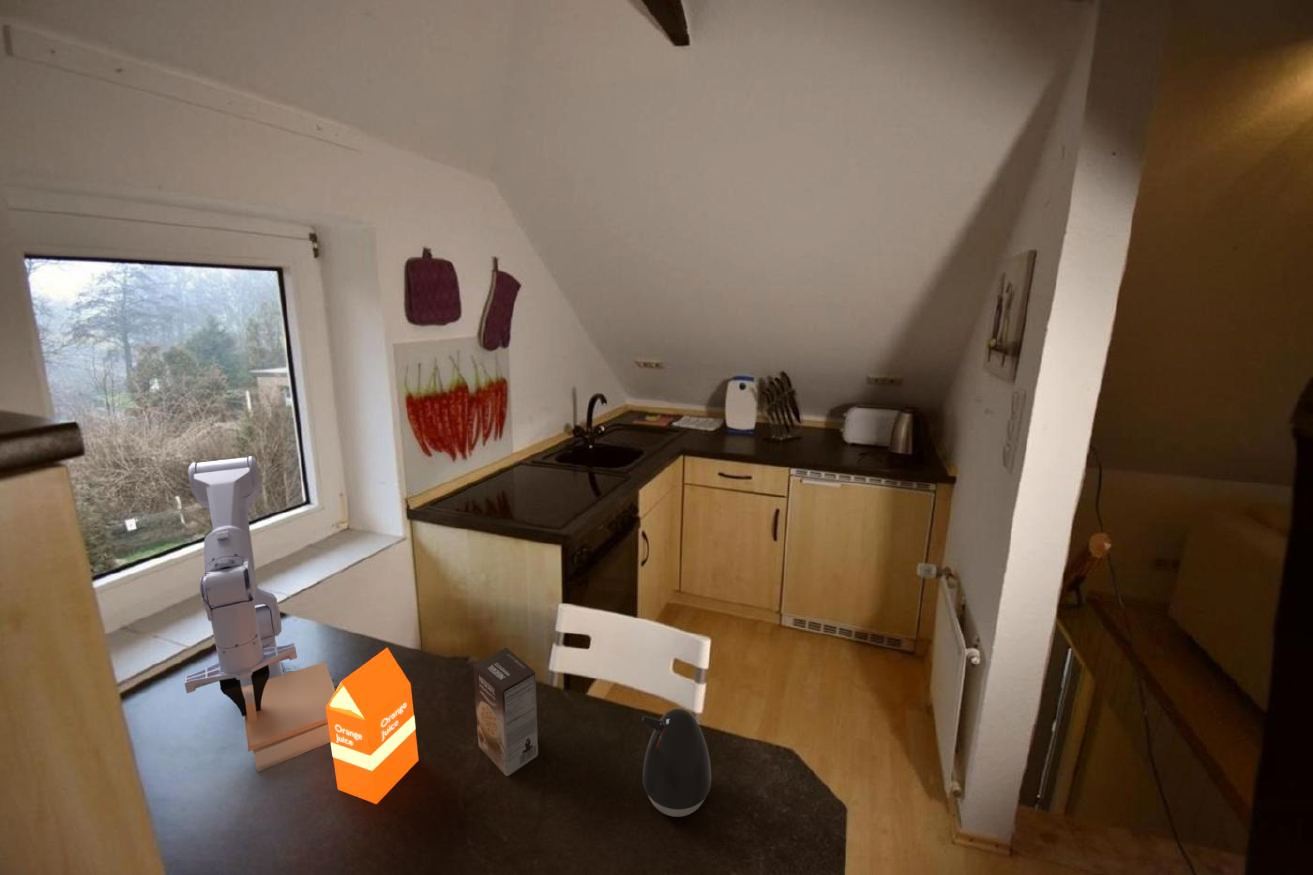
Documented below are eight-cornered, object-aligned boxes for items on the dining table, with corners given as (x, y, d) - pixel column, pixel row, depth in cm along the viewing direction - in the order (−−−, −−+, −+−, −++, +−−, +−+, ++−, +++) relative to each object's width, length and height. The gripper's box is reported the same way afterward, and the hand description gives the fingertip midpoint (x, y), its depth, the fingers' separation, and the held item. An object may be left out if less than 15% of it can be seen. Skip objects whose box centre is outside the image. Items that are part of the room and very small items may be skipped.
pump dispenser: (642, 770, 90) (643, 688, 86) (707, 772, 89) (711, 690, 86) (638, 828, 80) (639, 738, 76) (712, 831, 79) (716, 741, 76)
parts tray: (249, 714, 100) (246, 697, 99) (326, 686, 107) (323, 671, 107) (257, 772, 88) (253, 753, 87) (342, 737, 95) (340, 719, 95)
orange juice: (419, 760, 91) (408, 651, 86) (376, 804, 83) (361, 688, 78) (381, 747, 93) (368, 641, 89) (336, 789, 85) (319, 675, 80)
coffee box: (476, 747, 94) (470, 663, 90) (509, 726, 98) (505, 646, 94) (506, 778, 88) (501, 690, 84) (540, 755, 92) (537, 670, 88)
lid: (242, 694, 99) (238, 670, 98) (325, 667, 107) (323, 645, 106) (248, 754, 86) (245, 727, 85) (343, 719, 94) (341, 694, 93)
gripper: (178, 668, 82) (195, 745, 86) (294, 633, 91) (305, 704, 94) (179, 645, 88) (195, 718, 91) (288, 614, 96) (299, 682, 100)
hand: (251, 710), depth 93 cm, fingers closed on lid
